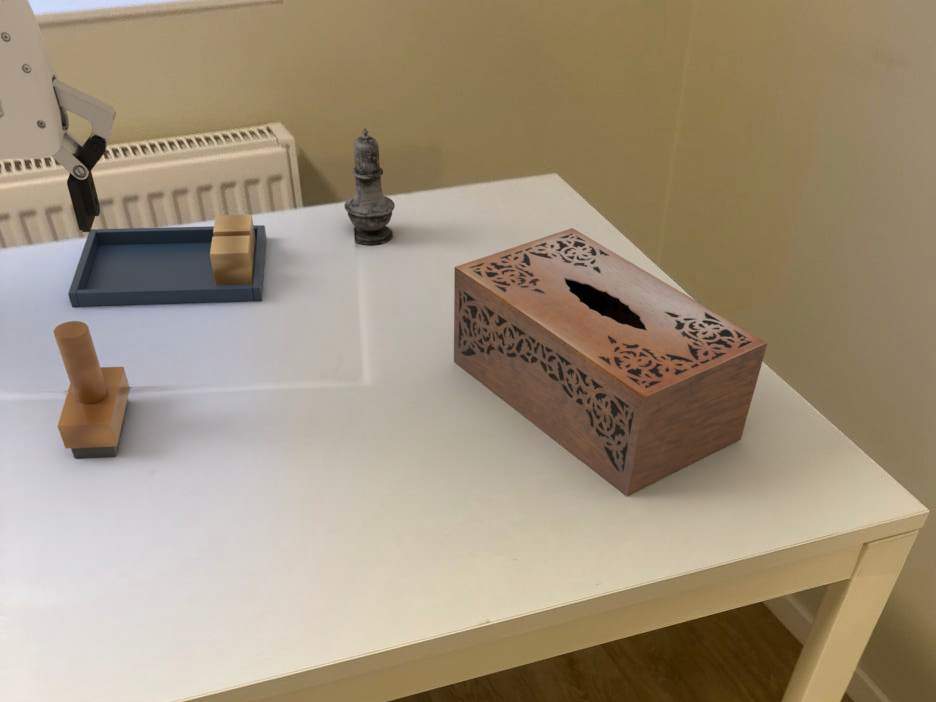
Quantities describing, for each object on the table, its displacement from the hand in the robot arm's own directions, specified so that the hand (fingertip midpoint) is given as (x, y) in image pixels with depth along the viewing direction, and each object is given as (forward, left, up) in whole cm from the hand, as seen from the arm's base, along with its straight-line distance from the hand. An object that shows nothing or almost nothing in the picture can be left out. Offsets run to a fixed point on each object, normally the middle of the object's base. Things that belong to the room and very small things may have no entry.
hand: (23, 224), depth 75 cm
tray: (+5, +27, -19) cm, 33 cm away
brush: (+1, -1, -19) cm, 19 cm away
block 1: (+12, +30, -18) cm, 37 cm away
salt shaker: (+27, +36, -19) cm, 49 cm away
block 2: (+12, +25, -18) cm, 33 cm away
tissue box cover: (+47, 0, -19) cm, 51 cm away
